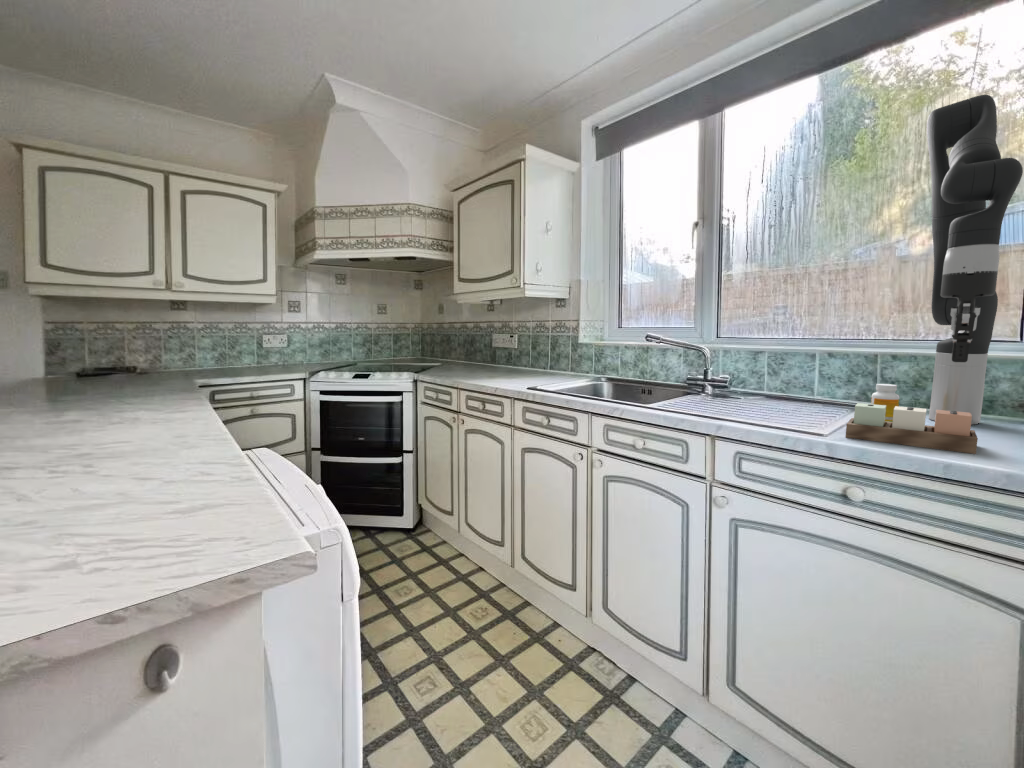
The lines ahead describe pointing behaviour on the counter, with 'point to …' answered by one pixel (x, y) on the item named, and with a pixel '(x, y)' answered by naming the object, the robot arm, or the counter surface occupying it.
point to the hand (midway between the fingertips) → (959, 361)
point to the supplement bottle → (886, 399)
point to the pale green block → (869, 414)
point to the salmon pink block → (952, 422)
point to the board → (913, 437)
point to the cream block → (909, 418)
